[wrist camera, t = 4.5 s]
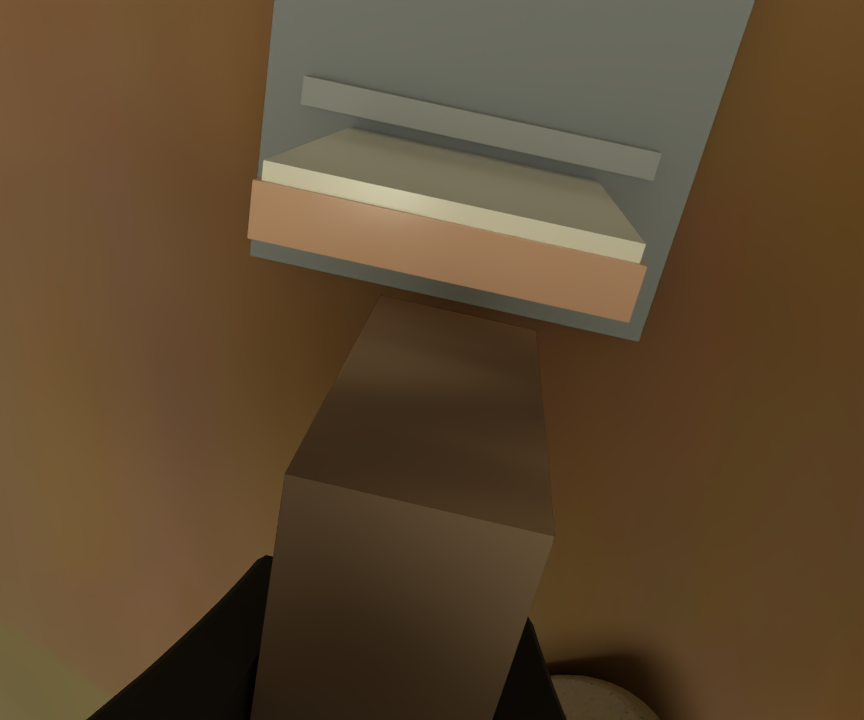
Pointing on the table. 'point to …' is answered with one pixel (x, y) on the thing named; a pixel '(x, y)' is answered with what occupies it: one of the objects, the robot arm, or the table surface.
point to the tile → (452, 220)
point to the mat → (513, 104)
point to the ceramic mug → (598, 700)
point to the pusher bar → (410, 526)
